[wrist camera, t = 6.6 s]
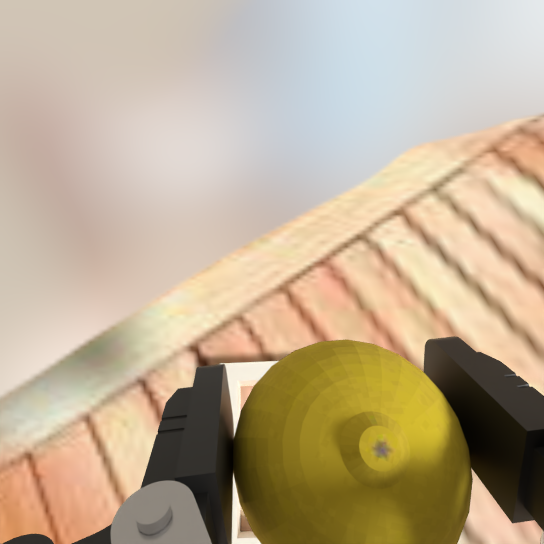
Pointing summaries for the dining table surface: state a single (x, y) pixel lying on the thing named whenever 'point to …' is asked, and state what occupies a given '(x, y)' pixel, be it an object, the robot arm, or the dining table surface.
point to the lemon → (350, 451)
